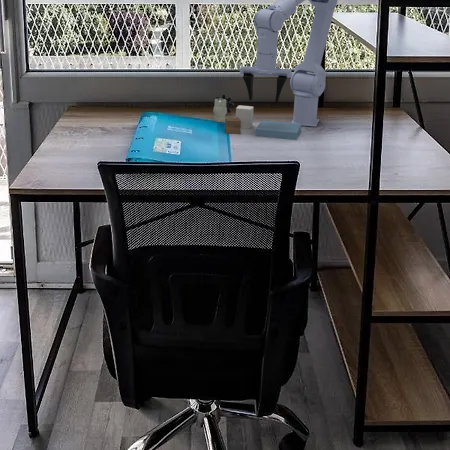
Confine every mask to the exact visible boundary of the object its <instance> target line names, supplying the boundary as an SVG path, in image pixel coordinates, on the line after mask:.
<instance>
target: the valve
mask: <svg viewBox="0 0 450 450" xmlns="http://www.w3.org/2000/svg"><path fill="white" fill-rule="evenodd" d="M232 99H233V98H232V97H231V96H229V97H227V94H225V93H222V95H221V97H220V96H218V95H217V96H216V97H215V98H214V101H213V103H212V105H213V110H212V113H213V114H214V116H213V121H214V122H218V123H223V122H224V123H225V117H226V115H227V113H228V114H230V113H232V109H231V108H234V106H235V104H234V102H231V101H232ZM227 106H228V107H227Z"/></svg>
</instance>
